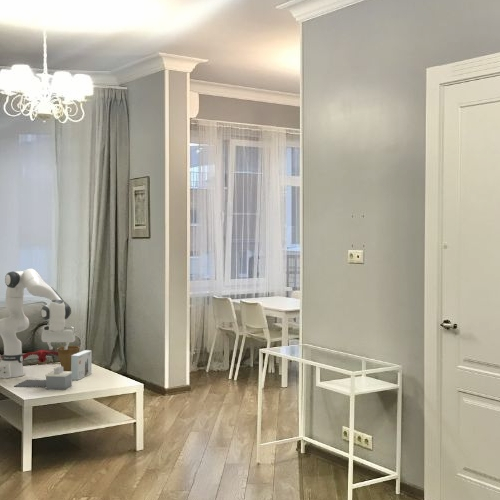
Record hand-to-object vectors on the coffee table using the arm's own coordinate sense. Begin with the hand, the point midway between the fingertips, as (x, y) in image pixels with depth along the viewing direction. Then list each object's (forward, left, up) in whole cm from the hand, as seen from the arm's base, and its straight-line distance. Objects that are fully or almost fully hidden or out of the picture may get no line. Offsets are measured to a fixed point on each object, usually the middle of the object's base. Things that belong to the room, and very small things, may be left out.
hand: (58, 349), depth 428 cm
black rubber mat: (-19, +9, -23) cm, 31 cm away
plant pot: (-14, +50, -24) cm, 57 cm away
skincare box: (+2, +32, -24) cm, 40 cm away
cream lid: (0, 0, -17) cm, 17 cm away
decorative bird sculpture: (-43, +72, -24) cm, 87 cm away
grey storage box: (0, 0, -23) cm, 23 cm away
